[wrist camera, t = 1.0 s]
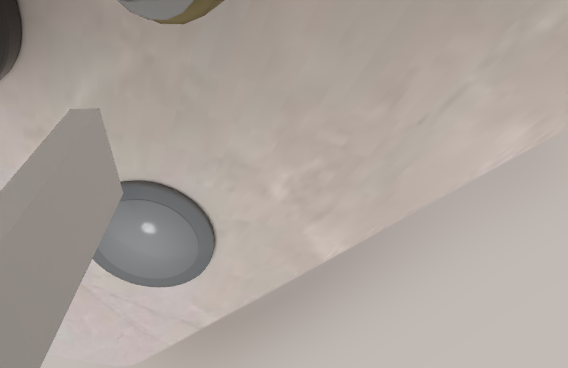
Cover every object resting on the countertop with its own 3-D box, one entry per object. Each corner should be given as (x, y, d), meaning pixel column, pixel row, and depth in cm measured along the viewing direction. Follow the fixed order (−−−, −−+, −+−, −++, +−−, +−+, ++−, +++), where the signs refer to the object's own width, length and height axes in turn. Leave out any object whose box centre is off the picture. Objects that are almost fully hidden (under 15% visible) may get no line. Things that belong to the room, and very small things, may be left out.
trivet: (77, 262, 52) (73, 269, 51) (89, 163, 45) (85, 170, 44) (198, 293, 54) (196, 300, 54) (229, 204, 47) (227, 211, 46)
